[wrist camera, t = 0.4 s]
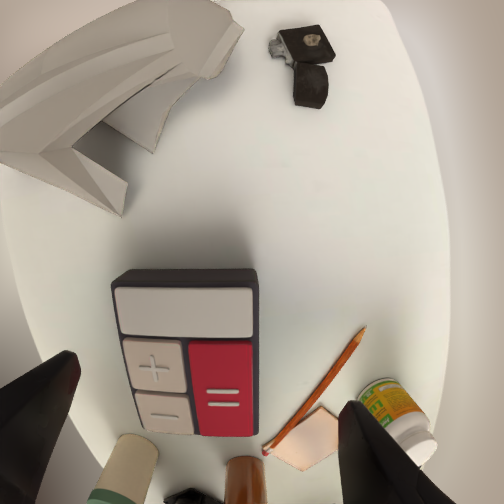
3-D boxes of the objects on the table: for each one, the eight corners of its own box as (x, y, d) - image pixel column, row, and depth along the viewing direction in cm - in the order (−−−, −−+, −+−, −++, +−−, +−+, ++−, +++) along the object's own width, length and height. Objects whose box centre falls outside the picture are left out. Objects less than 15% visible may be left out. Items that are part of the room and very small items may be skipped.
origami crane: (155, -13, 19) (119, -103, 5) (276, 35, 21) (305, -77, 7) (17, 188, 22) (-90, 191, 8) (118, 267, 24) (16, 330, 10)
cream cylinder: (144, 467, 27) (122, 529, 17) (110, 442, 26) (79, 503, 16) (168, 453, 27) (149, 523, 16) (131, 426, 26) (100, 495, 16)
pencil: (261, 450, 27) (261, 455, 26) (362, 322, 25) (365, 324, 24) (267, 452, 27) (267, 457, 26) (368, 325, 25) (371, 328, 24)
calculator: (140, 435, 22) (104, 283, 19) (150, 408, 26) (126, 268, 23) (259, 441, 22) (259, 283, 20) (257, 412, 27) (256, 267, 24)
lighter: (358, 94, 20) (300, 106, 20) (350, 103, 22) (295, 115, 22) (320, 20, 19) (264, 29, 19) (315, 31, 21) (263, 41, 21)
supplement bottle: (362, 377, 26) (403, 439, 16) (406, 375, 26) (454, 427, 16) (348, 419, 26) (378, 482, 17) (390, 415, 27) (428, 470, 17)
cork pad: (302, 469, 27) (302, 471, 27) (262, 446, 27) (262, 448, 26) (356, 433, 27) (357, 435, 26) (320, 405, 26) (321, 407, 26)
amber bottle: (245, 481, 28) (246, 552, 17) (218, 466, 27) (212, 541, 16) (272, 466, 27) (281, 541, 16) (245, 450, 27) (247, 530, 16)
